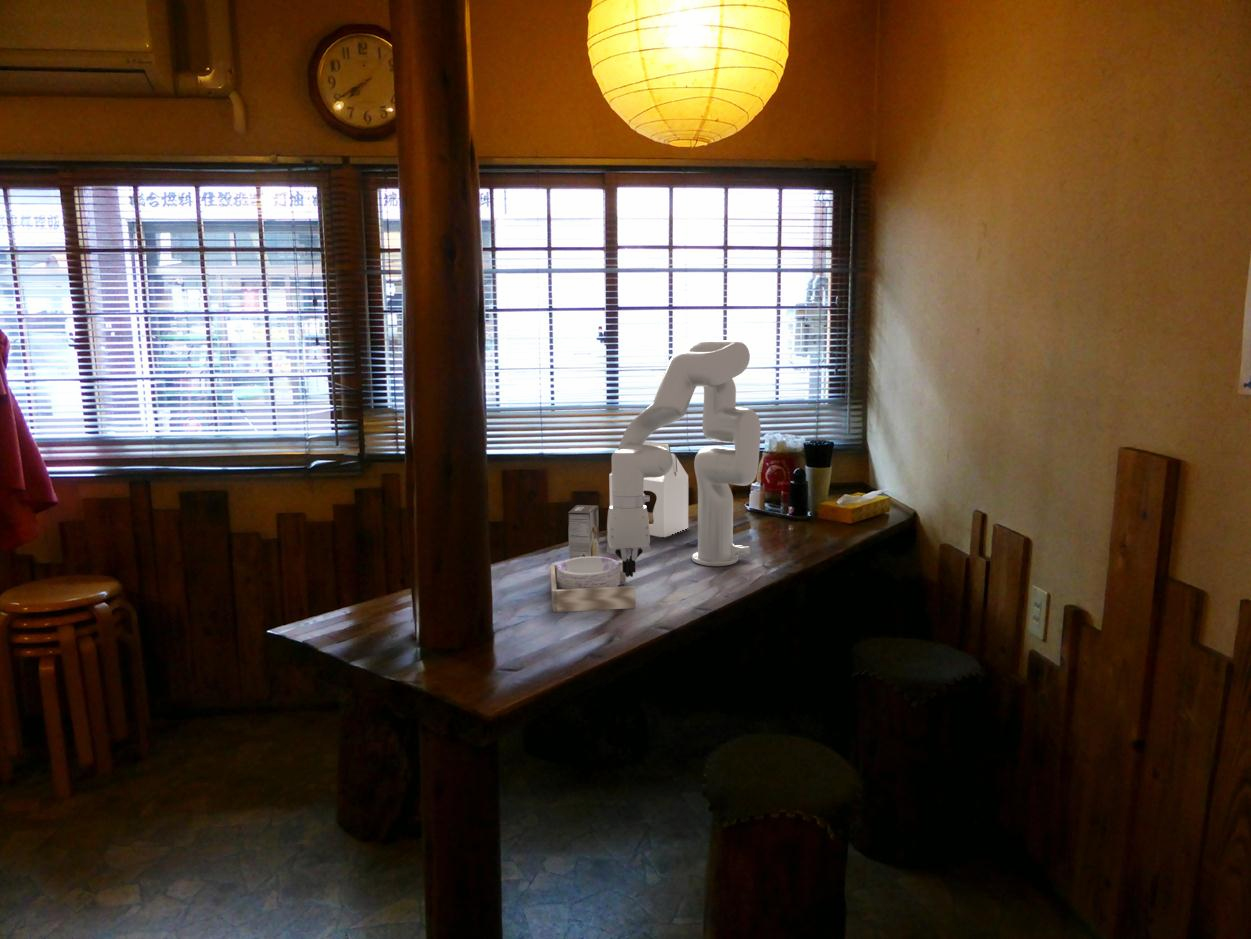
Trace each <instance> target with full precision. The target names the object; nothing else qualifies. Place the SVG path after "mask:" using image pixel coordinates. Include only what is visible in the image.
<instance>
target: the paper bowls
mask: <svg viewBox="0 0 1251 939" xmlns="http://www.w3.org/2000/svg"><path fill="white" fill-rule="evenodd" d="M617 561H618V560H616V559H613V558H609V557H605V556H600V557H595V556H592V557H578V558H573V559H569V558H568V559H566V560H564V561H561V562H559V563H558V564H559V565H558V566H557V568H556V569H557V584H556V585H557V587H558V588H559V590H560V589H581V588H602V587H619V586H620V584H621V581H620V565H619V563H618V562H617Z"/></svg>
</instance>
